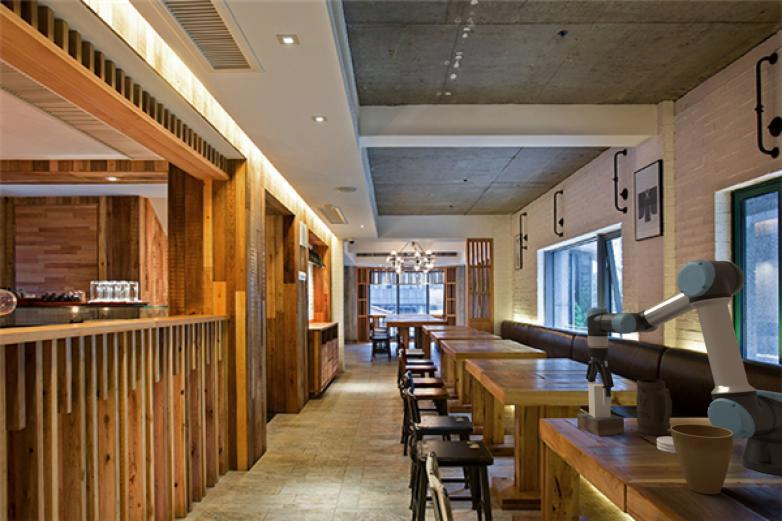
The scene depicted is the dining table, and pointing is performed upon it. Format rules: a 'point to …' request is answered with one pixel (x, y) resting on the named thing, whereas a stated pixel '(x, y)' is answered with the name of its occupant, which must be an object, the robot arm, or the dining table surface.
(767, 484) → the dining table surface
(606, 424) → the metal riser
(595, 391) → the cream block
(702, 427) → the plant pot
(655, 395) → the beer stein
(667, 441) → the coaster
